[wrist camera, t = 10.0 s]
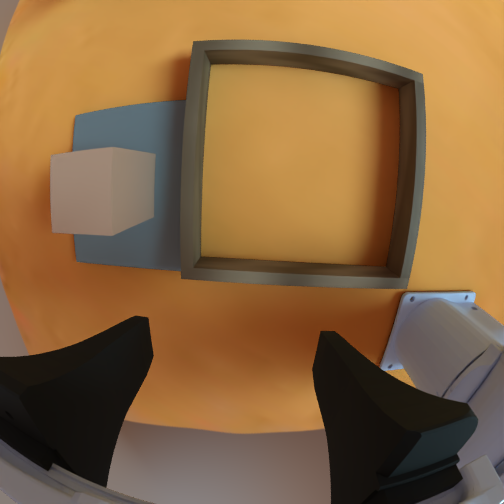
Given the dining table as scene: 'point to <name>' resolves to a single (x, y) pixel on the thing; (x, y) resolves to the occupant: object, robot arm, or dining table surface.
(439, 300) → the robot arm
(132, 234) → the mat
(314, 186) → the dining table surface
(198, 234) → the grey square frame
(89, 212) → the block
